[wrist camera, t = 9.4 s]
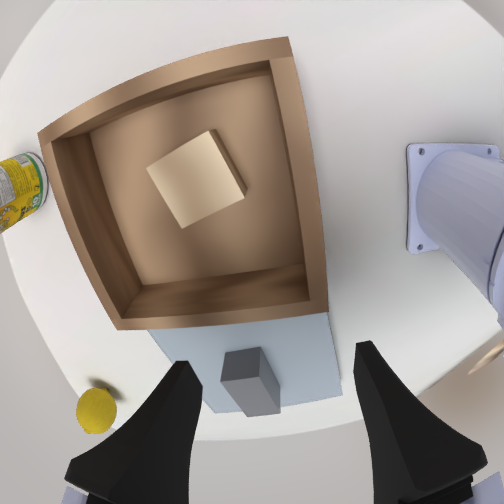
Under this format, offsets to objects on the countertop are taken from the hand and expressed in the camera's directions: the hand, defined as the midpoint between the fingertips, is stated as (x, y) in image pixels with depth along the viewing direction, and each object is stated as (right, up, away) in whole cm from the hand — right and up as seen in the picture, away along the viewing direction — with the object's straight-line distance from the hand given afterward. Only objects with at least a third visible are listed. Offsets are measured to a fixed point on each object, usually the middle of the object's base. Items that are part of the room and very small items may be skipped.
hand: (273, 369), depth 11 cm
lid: (-1, -4, +13) cm, 14 cm away
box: (-5, +9, +6) cm, 12 cm away
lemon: (-21, -14, +20) cm, 33 cm away
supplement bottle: (-20, +11, +6) cm, 24 cm away
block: (-4, +10, +5) cm, 11 cm away
